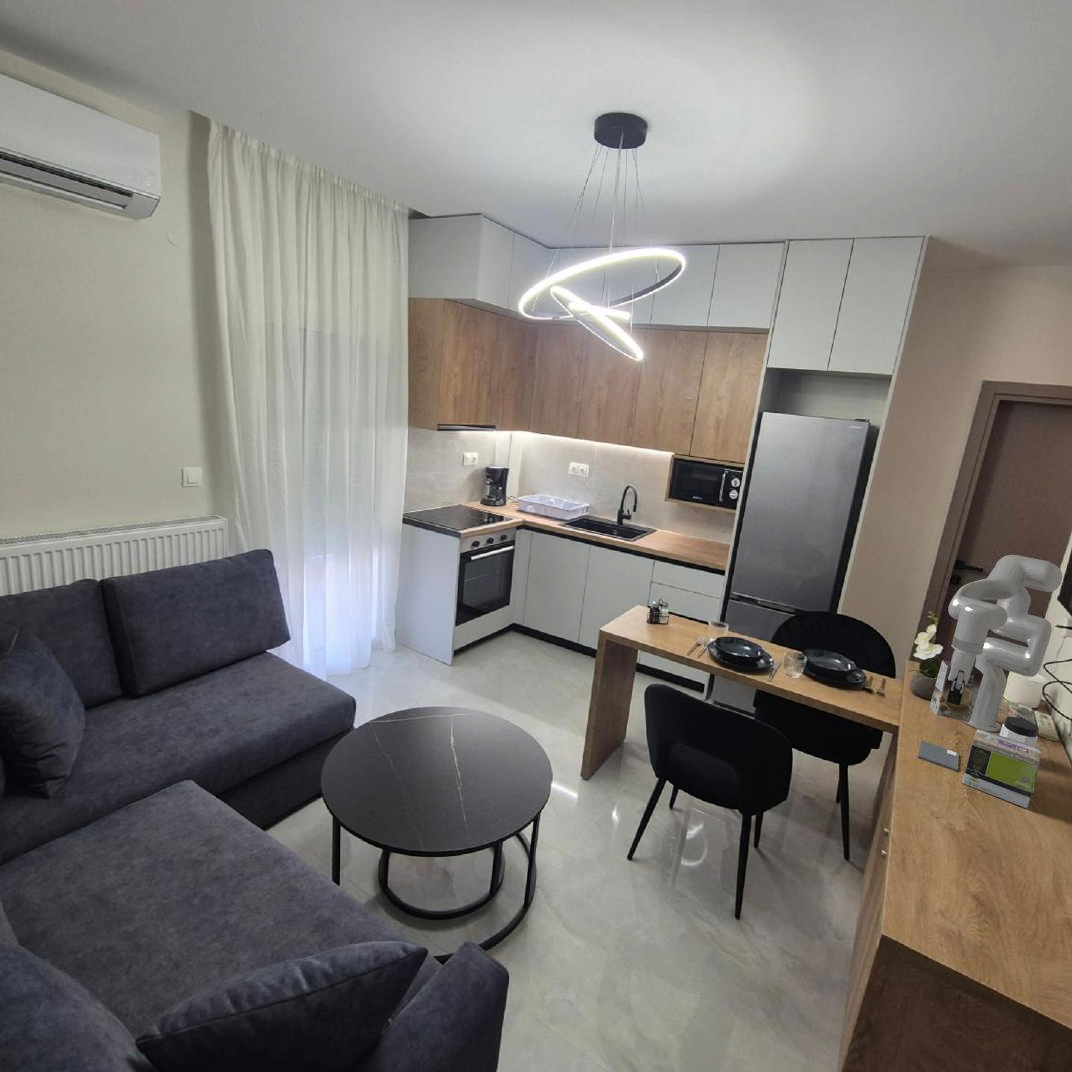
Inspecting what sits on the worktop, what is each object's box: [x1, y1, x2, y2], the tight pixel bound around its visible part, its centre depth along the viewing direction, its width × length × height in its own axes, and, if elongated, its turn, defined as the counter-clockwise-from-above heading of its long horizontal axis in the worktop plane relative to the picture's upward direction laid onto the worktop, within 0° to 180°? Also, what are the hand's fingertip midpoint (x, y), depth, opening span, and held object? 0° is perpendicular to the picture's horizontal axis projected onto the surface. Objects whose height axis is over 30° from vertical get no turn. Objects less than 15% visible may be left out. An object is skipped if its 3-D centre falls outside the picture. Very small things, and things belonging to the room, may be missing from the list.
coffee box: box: [929, 659, 984, 722], centre depth 175 cm, size 9×6×16 cm
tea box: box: [962, 728, 1042, 809], centre depth 164 cm, size 15×10×15 cm
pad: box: [917, 740, 960, 772], centre depth 180 cm, size 12×10×1 cm
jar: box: [999, 716, 1040, 747], centre depth 182 cm, size 9×8×12 cm
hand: (953, 698), depth 176 cm, fingers closed on coffee box, 7 cm apart
